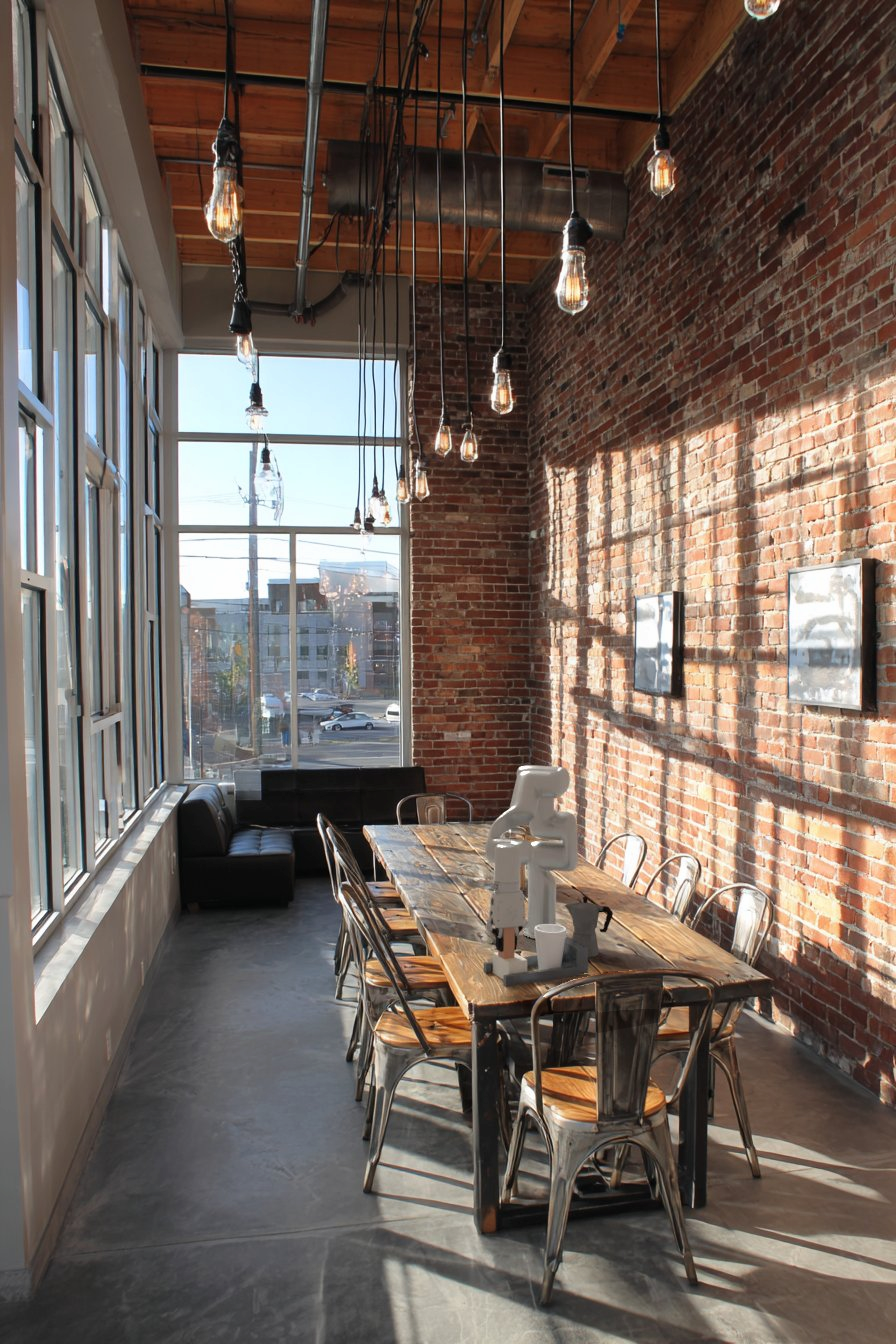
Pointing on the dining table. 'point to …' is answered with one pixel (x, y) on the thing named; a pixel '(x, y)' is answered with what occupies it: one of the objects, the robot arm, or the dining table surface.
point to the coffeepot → (588, 923)
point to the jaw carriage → (508, 956)
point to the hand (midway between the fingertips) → (506, 949)
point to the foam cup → (549, 945)
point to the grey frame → (571, 966)
